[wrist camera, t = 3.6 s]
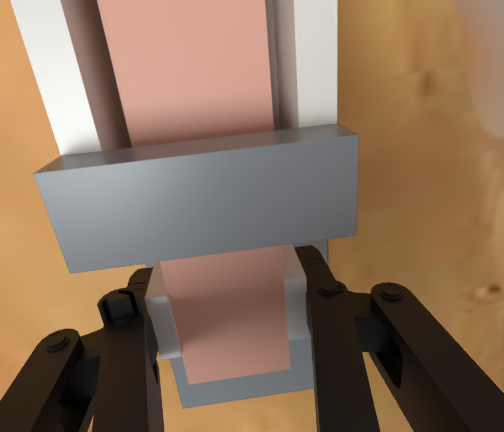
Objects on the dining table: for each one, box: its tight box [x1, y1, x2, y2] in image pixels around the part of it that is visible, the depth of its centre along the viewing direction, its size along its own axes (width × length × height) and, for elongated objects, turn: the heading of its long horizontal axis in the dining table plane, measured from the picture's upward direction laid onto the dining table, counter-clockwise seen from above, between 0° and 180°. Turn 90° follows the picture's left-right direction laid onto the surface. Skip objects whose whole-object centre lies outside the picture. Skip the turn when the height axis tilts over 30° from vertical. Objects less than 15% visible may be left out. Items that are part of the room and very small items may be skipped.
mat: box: [146, 239, 327, 409], centre depth 24 cm, size 15×11×1 cm
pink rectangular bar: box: [97, 0, 291, 385], centre depth 11 cm, size 18×4×2 cm, turn 5°
